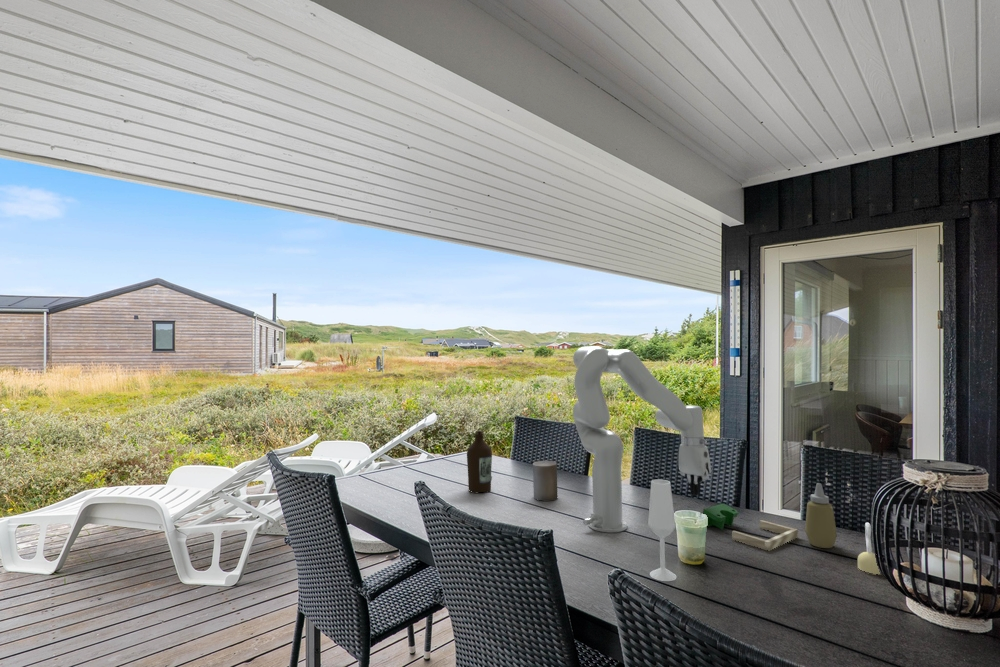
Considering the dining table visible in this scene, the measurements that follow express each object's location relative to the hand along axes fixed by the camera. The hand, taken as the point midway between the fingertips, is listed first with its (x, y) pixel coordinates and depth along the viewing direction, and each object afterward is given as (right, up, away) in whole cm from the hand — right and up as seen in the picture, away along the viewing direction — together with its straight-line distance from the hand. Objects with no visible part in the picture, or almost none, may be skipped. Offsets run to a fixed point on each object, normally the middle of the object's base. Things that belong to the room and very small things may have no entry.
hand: (695, 494), depth 176 cm
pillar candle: (-50, -10, +26) cm, 57 cm away
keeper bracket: (+13, -7, -20) cm, 25 cm away
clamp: (+5, -8, -8) cm, 13 cm away
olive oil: (-76, -11, +38) cm, 86 cm away
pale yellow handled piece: (+29, -6, -43) cm, 52 cm away
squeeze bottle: (+27, -7, -26) cm, 38 cm away
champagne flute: (-26, -7, -45) cm, 52 cm away
